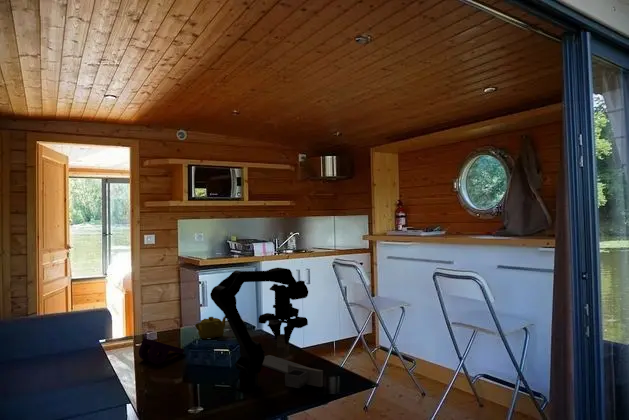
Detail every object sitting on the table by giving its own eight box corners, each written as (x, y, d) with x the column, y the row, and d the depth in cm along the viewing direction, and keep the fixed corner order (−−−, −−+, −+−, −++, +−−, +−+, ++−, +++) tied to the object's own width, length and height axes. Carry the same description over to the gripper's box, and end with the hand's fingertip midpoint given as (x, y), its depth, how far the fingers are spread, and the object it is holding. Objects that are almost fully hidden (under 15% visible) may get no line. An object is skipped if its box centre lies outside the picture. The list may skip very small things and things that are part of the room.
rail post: (284, 358, 166) (284, 336, 167) (277, 357, 168) (276, 335, 168) (289, 356, 169) (288, 334, 169) (281, 355, 171) (281, 333, 171)
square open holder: (299, 388, 154) (298, 376, 154) (285, 385, 157) (284, 373, 157) (310, 381, 161) (310, 369, 161) (297, 378, 164) (297, 367, 164)
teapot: (204, 333, 235) (204, 313, 235) (228, 333, 233) (228, 313, 234) (194, 340, 222) (193, 319, 222) (219, 341, 220) (218, 320, 220)
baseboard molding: (274, 356, 196) (252, 363, 188) (274, 350, 196) (252, 356, 188) (326, 373, 174) (303, 382, 166) (326, 366, 174) (303, 374, 166)
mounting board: (320, 387, 159) (320, 371, 159) (287, 380, 166) (287, 365, 166) (323, 385, 160) (322, 370, 160) (290, 379, 167) (289, 364, 167)
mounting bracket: (169, 366, 202) (135, 357, 190) (176, 347, 205) (143, 337, 193) (182, 370, 196) (148, 362, 184) (189, 350, 199) (155, 341, 187)
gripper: (314, 299, 171) (315, 341, 171) (274, 296, 180) (274, 335, 180) (299, 305, 162) (300, 348, 161) (257, 300, 171) (257, 342, 171)
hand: (283, 343), depth 169 cm, fingers closed on rail post, 3 cm apart
